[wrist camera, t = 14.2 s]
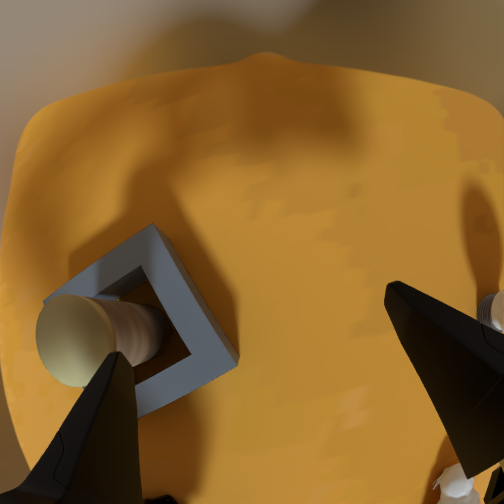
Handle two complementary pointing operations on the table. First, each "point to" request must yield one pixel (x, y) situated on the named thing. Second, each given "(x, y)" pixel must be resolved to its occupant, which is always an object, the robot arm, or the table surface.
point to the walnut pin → (96, 335)
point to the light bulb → (492, 311)
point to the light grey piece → (456, 487)
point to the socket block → (175, 304)
